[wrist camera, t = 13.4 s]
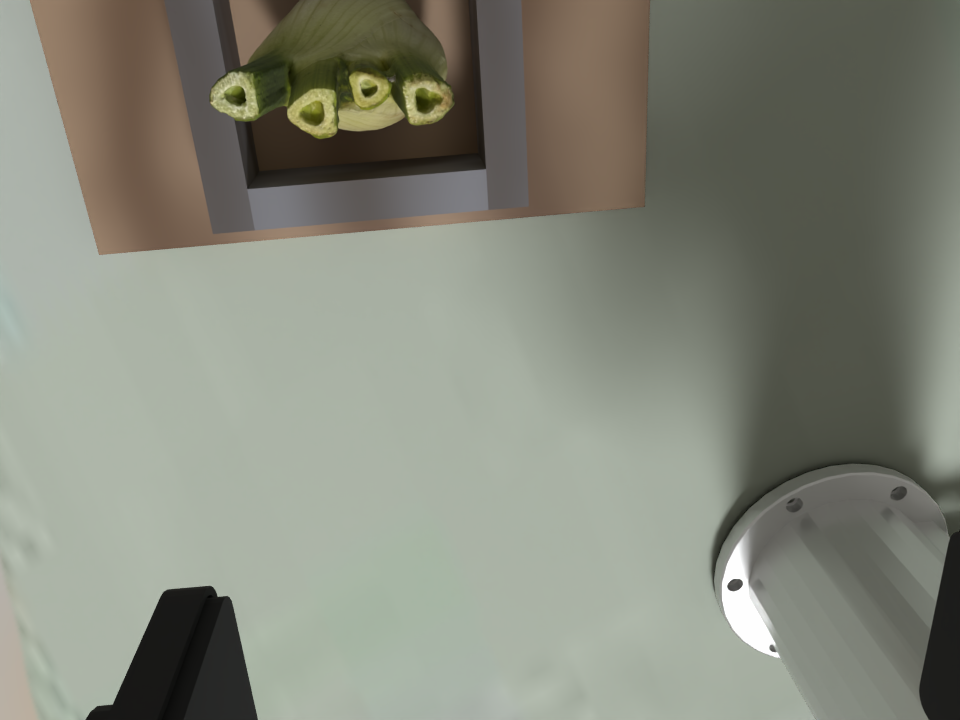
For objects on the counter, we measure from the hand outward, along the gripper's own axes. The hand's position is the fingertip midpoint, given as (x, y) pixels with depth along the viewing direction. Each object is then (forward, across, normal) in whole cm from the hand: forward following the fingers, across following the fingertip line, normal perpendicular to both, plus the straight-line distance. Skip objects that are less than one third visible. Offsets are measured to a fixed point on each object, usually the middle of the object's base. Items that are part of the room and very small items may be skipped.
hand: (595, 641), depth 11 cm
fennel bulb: (+24, +4, -6) cm, 26 cm away
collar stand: (+26, +4, -7) cm, 27 cm away
